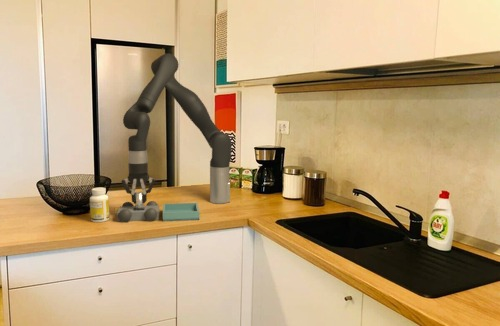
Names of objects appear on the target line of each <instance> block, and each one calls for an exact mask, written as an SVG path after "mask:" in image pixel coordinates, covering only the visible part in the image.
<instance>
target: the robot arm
mask: <svg viewBox="0 0 500 326" xmlns="http://www.w3.org/2000/svg"><path fill="white" fill-rule="evenodd" d="M150 68H151V72H152V73H153V77H152V78H151V80H150V81H149V82H148V83H147V85H146V86H145V87H144V88H143V90H142V91H141V92H140V94H139V97H138V98H137V101H136V102H134V103H133V104H132V105H131V107H129V109H128V110H126V112H125V113H124V115H123V117H122V118H123V120H122V121H123V123H122V124H123V126H124V128H126V129H128V130H137V132H136V133H135V134H134V135H130V136H129V137H128V141H127V143H128V153H127V154H128V155H127V162H128V176H127V177H126V178H123V179H122V180H121V184H122V186H123V187H124V190H125V192H126V194H129V195H131V203H133V205H135V192H136V187H141V189H142V190H141V191H142V192H143V204H145V203H147V200H148V199H147V198H148V197H147V196H148V195H147V194H149V193H151V192H152V190H153V188H154V184H155V182H156V178H155V177H151V176H150V175H149V170H148V169H149V166H148V162H149V161H148V151H147V149H148V148H147V147H148V146H147V139H148V135H149V130H150V127H151V117H150V116H149V114H150V113H151V112H152V111H153V109H154V108H155V106H156V104H157V102H158V101H159V98H160V96H161V94H162V92H163V90H164V89H166V90H167V92H169V93H170V95H171V96H172V97H173V99H174V100H175V101H176V102H177V104H178V105H179V106H180V108H181V110H182V111H183V112H184V113H185V115H186V116H187V117H188V119H190V121H191V122H192V123H193V124H194V125H195V127H196V128H197V129H198V130H199V131H200V132H201V134H202V135H203V137H204V138H205V140H206V142H207V144H208V145H209V148H210V149H211V158H210V161H209V202H210V203H212V204H227V203H231V182H230V164H231V163H230V162H231V159H232V140H231V137H230V135H228V134H227V133H224V132H222V131H221V129H219V128H218V126H217V125H216V124H215V123H214V122H213V119H212V118H211V116H210V114H209V111H208V109H207V107H206V106H205V104H204V102H203V100H201V98H200V97H199V96H198V95H197V93H195V92H194V91H193V90H191V89H190V88H187V87H186V86H184V85H183V84H181V83H180V82H179V81H178V80H177V79H176V77H175V76H174V75H175V73H177V71H178V70H179V61H178V59H177V58H176V56H175V55H174V54H172V53H164V54H162V55H160V56H158V57H157V58H156V59H154V60H153V61H152V63H151V65H150ZM148 181H149V182H148ZM147 182H148V183H149V186H148V188H146V185H147ZM129 183H130V184H131V187H132V188H130V187H129V186H128V184H129Z"/></svg>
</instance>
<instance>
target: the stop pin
mask: <svg viewBox="0 0 500 326" xmlns="http://www.w3.org/2000/svg"><path fill="white" fill-rule="evenodd" d="M134 206H135V208H136V210H144V207H143V206H144V203H143V191H135V204H134Z"/></svg>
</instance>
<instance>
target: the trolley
mask: <svg viewBox="0 0 500 326" xmlns="http://www.w3.org/2000/svg"><path fill="white" fill-rule="evenodd" d="M143 207H144V210H136V208H135V204H134V203H133V202H132V201H126V202H124V203H122V206H119V207H115V208H114V214H115V215H116V217H117V219H116V221H117V222H121V223H128V222H134V221H135V222H136V221H138V222H140V221H142V222H143V221H147V222H154V221H159V218H160V205H159V204H158V203H157V202H156V201H154V200H150V201H148V202H146V205H143Z"/></svg>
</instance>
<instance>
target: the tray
mask: <svg viewBox="0 0 500 326" xmlns="http://www.w3.org/2000/svg"><path fill="white" fill-rule="evenodd" d="M180 221H200V209H199V205H198V203H197V202H180V203H179V202H177V203H162V222H180Z"/></svg>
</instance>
